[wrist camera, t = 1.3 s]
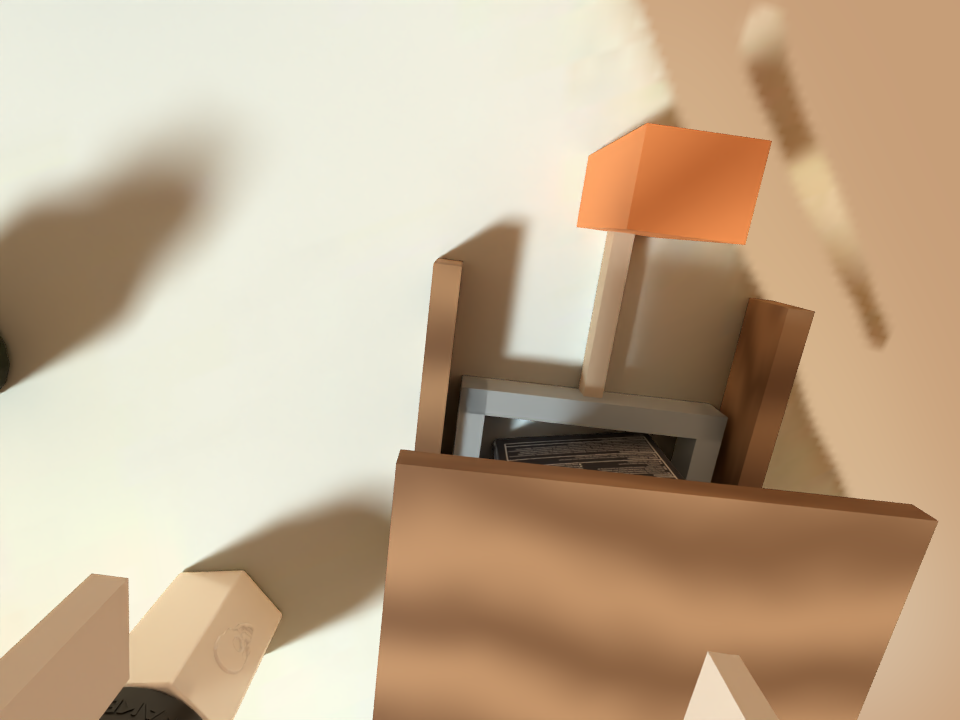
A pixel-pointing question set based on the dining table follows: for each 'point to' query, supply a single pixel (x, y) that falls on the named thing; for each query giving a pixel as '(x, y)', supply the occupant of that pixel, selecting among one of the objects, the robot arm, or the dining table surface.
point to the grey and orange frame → (625, 213)
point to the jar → (196, 649)
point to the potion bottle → (3, 363)
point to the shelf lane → (633, 566)
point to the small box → (591, 453)
